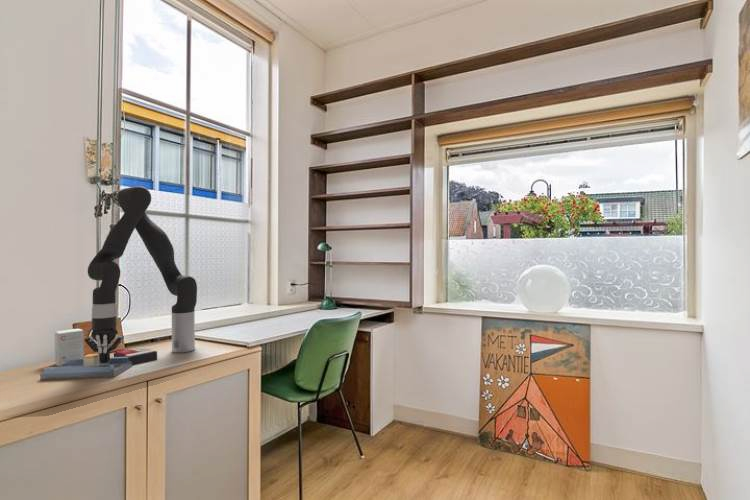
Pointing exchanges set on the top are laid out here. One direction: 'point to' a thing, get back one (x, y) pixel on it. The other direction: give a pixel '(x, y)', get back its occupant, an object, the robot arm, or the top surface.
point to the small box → (68, 345)
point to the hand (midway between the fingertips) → (104, 362)
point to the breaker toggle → (91, 360)
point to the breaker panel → (88, 375)
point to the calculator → (138, 355)
